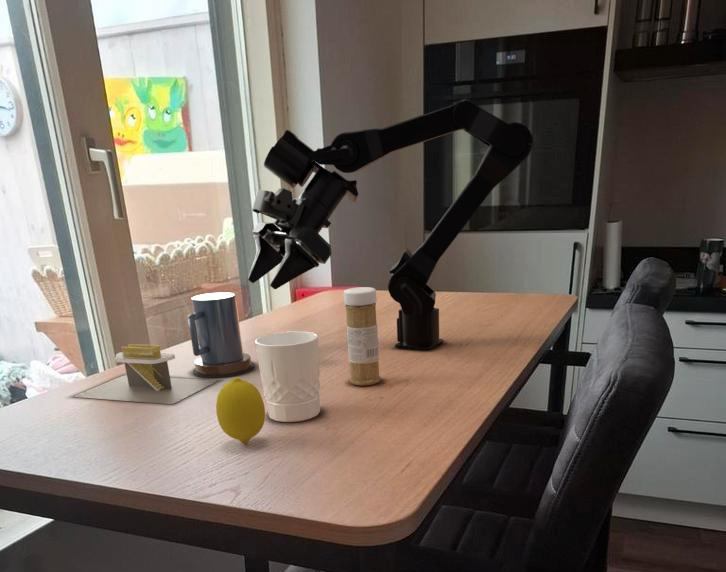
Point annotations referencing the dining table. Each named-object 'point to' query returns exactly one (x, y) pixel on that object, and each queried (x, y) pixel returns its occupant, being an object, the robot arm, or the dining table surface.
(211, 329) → the mug
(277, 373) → the white cup
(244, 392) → the lemon
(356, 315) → the spice jar
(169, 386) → the platform
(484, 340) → the dining table surface
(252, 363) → the base
